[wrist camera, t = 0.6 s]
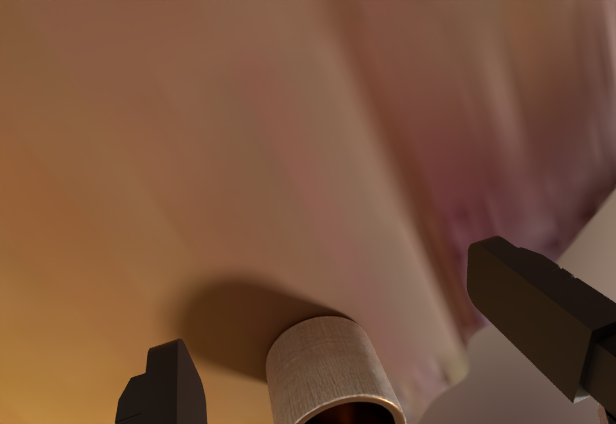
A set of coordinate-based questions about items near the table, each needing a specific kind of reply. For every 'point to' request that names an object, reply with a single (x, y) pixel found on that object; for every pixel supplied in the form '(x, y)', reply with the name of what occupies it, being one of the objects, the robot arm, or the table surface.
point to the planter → (329, 376)
